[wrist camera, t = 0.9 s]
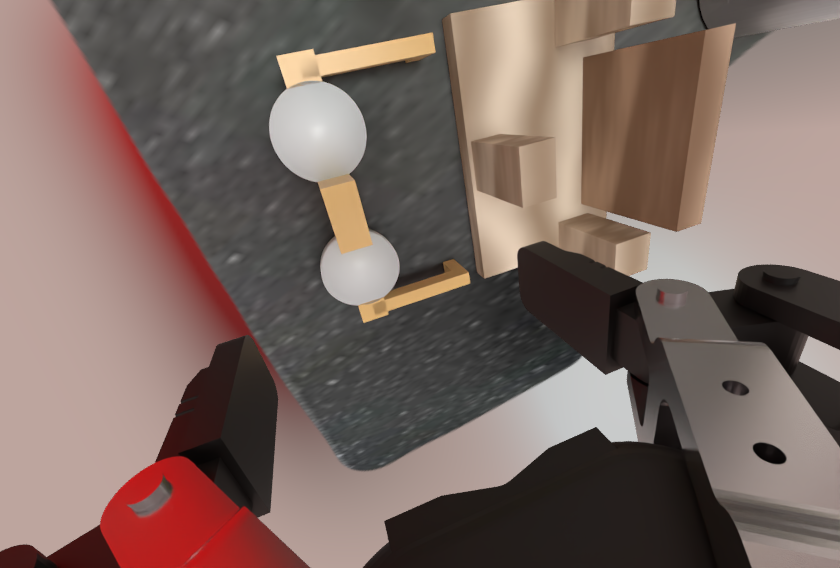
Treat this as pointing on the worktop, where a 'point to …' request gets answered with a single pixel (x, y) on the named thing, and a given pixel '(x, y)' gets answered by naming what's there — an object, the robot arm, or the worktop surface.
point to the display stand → (581, 126)
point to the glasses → (347, 173)
